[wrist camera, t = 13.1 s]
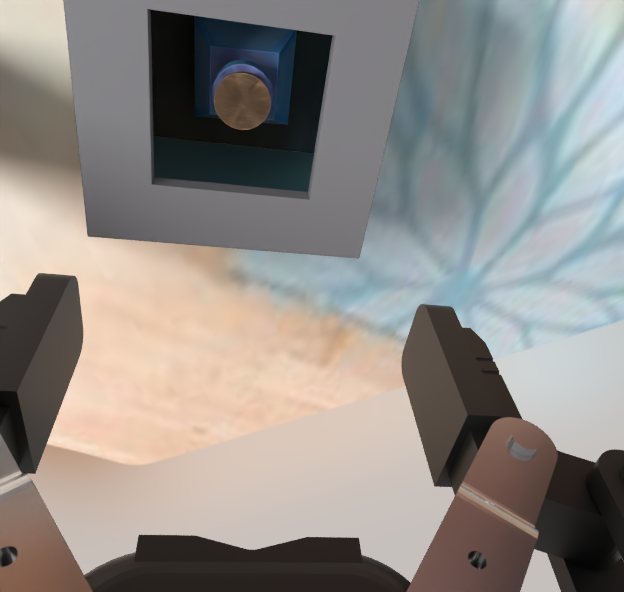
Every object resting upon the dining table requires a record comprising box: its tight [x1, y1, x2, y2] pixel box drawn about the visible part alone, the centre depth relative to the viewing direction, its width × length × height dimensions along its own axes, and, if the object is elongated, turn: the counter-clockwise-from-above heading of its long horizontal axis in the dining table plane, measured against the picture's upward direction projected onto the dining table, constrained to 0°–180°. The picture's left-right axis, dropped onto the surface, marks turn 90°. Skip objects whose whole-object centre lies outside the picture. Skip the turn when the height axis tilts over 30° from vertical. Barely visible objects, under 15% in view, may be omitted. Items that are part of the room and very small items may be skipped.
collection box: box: [63, 0, 419, 258], centre depth 35 cm, size 16×16×14 cm
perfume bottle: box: [195, 16, 297, 130], centre depth 36 cm, size 6×6×12 cm
